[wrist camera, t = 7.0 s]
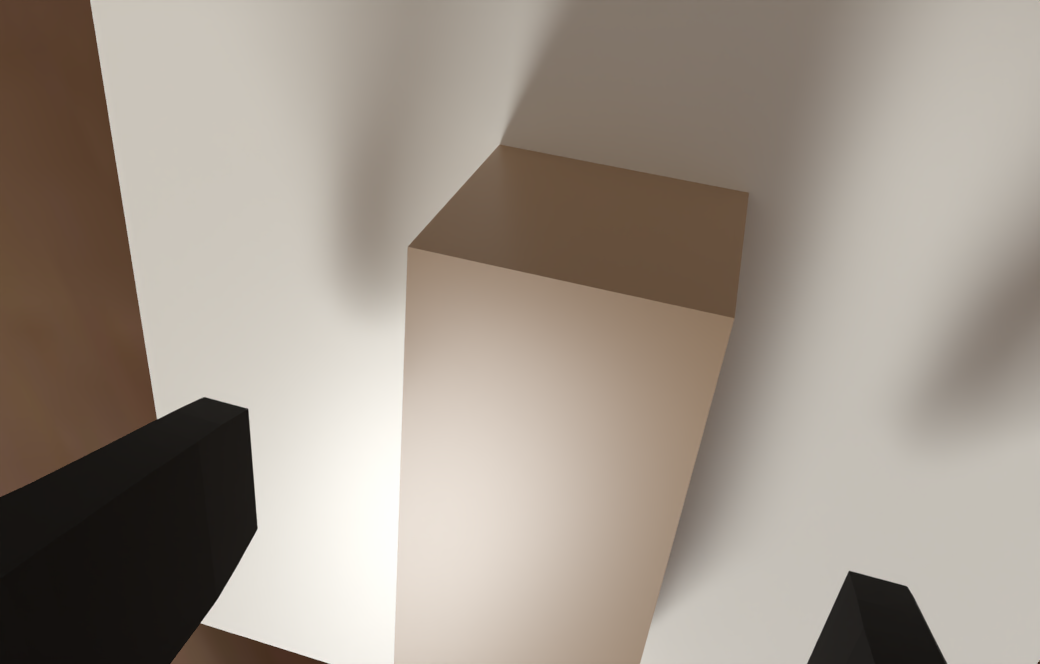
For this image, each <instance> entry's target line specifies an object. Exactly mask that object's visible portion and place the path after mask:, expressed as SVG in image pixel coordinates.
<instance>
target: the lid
mask: <svg viewBox="0 0 1040 664" xmlns="http://www.w3.org/2000/svg"><path fill="white" fill-rule="evenodd" d="M90 2H91V8H92V14H93V21H94V27H95V33H96V39H97V46H98V52H99V58H100V64H101V71H102V77H103V83H104V89H105V96H106V102H107V108H108V114H109V121H110V127H111V133H112V139H113V146H114V152H115V158H116V164H117V171H118V177H119V183H120V190H121V196H122V202H123V208H124V215H125V221H126V227H127V233H128V240H129V246H130V252H131V258H132V265H133V271H134V277H135V283H136V290H137V296H138V302H139V308H140V315H141V321H142V327H143V333H144V340H145V346H146V352H147V358H148V365H149V371H150V377H151V383H152V390H153V396H154V402H155V408H156V415H157V419H159V418H161V417H163V416H165V415H167V414H169V413H171V412H173V411H175V410H177V409H179V408H181V407H183V406H185V405H187V404H190V403H192V402H194V401H196V400H198V399H201V398H203V397H206V398H210V399H214V400H218V401H221V402H225V403H229V404H232V405H236V406H240V407H244V408H247V409H248V411H249V424H250V436H251V449H252V462H253V475H254V488H255V500H256V513H257V526H258V529H257V531H256V533H255V535H254V537H253V538H252V540H251V542H250V544H249V546H248V548H247V549H246V551H245V553H244V555H243V557H242V558H241V560H240V562H239V564H238V566H237V567H236V569H235V571H234V573H233V574H232V576H231V578H230V579H229V581H228V583H227V584H226V586H225V588H224V589H223V591H222V593H221V594H220V596H219V598H218V600H217V601H216V602H215V604H214V605H213V607H212V608H211V609H210V611H209V612H208V613H207V615H206V616H205V618H204V619H203V620H202V622H201V623H202V624H205V625H208V626H211V627H215V628H218V629H221V630H224V631H227V632H231V633H234V634H237V635H240V636H243V637H247V638H250V639H253V640H256V641H259V642H263V643H266V644H269V645H272V646H275V647H279V648H282V649H285V650H288V651H291V652H295V653H298V654H301V655H304V656H307V657H311V658H314V659H317V660H320V661H323V662H327V663H330V664H807V663H808V660H809V658H810V656H811V654H812V652H813V649H814V647H815V645H816V643H817V640H818V638H819V636H820V634H821V632H822V629H823V627H824V625H825V623H826V620H827V618H828V616H829V614H830V612H831V609H832V607H833V605H834V603H835V600H836V598H837V596H838V594H839V592H840V589H841V587H842V585H843V583H844V580H845V578H846V576H847V574H848V572H849V571H852V572H856V573H860V574H864V575H867V576H871V577H875V578H878V579H882V580H886V581H890V582H893V583H897V584H901V585H904V586H907V587H908V588H909V590H910V592H911V593H912V595H913V596H914V598H915V600H916V602H917V604H918V606H919V608H920V610H921V612H922V614H923V616H924V618H925V620H926V622H927V624H928V626H929V628H930V630H931V632H932V634H933V636H934V638H935V640H936V642H937V644H938V646H939V648H940V650H941V652H942V654H943V656H944V658H945V660H946V662H947V664H1037V663H1038V662H1039V660H1040V0H90Z"/></svg>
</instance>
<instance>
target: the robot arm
mask: <svg viewBox="0 0 1040 664" xmlns="http://www.w3.org/2000/svg"><path fill="white" fill-rule="evenodd" d="M257 529H258V526H257V513H256V500H255V488H254V475H253V462H252V449H251V436H250V424H249V411H248V409H247V408H244V407H240V406H236V405H232V404H229V403H225V402H221V401H218V400H214V399H210V398H206V397H203V398H201V399H198V400H196V401H194V402H192V403H190V404H187V405H185V406H183V407H181V408H179V409H177V410H175V411H173V412H171V413H169V414H167V415H165V416H163V417H161V418H159V419H157V420H155V421H153V422H151V423H149V424H147V425H145V426H143V427H141V428H139V429H137V430H135V431H134V432H132V433H130V434H128V435H126V436H124V437H122V438H120V439H118V440H116V441H114V442H112V443H110V444H108V445H106V446H104V447H102V448H100V449H98V450H96V451H94V452H92V453H90V454H88V455H86V456H84V457H82V458H80V459H78V460H76V461H74V462H72V463H70V464H68V465H66V466H64V467H62V468H60V469H58V470H56V471H54V472H52V473H50V474H48V475H46V476H44V477H42V478H40V479H38V480H36V481H34V482H32V483H30V484H28V485H26V486H24V487H22V488H19V489H17V490H15V491H13V492H11V493H9V494H6V495H4V496H2V497H0V664H170V663H171V662H172V660H173V659H174V658H175V657H176V655H177V654H178V653H179V651H180V650H181V648H182V647H183V646H184V644H185V643H186V642H187V640H188V639H189V638H190V636H191V635H192V634H193V632H194V631H195V630H196V628H197V627H198V626H199V624H200V623H201V622H202V620H203V619H204V618H205V616H206V615H207V613H208V612H209V611H210V609H211V608H212V607H213V605H214V604H215V602H216V601H217V600H218V598H219V596H220V594H221V593H222V591H223V589H224V588H225V586H226V584H227V583H228V581H229V579H230V578H231V576H232V574H233V573H234V571H235V569H236V567H237V566H238V564H239V562H240V560H241V558H242V557H243V555H244V553H245V551H246V549H247V548H248V546H249V544H250V542H251V540H252V538H253V537H254V535H255V533H256V531H257ZM807 664H947V662H946V660H945V658H944V656H943V654H942V652H941V650H940V648H939V646H938V644H937V642H936V640H935V638H934V636H933V634H932V632H931V630H930V628H929V626H928V624H927V622H926V620H925V618H924V616H923V614H922V612H921V610H920V608H919V606H918V604H917V602H916V600H915V598H914V596H913V595H912V593H911V592H910V590H909V588H908V587H907V586H904V585H901V584H897V583H893V582H890V581H886V580H882V579H878V578H875V577H871V576H867V575H864V574H860V573H856V572H852V571H849V572H848V574H847V576H846V578H845V580H844V583H843V585H842V587H841V589H840V592H839V594H838V596H837V598H836V600H835V603H834V605H833V607H832V609H831V612H830V614H829V616H828V618H827V620H826V623H825V625H824V627H823V629H822V632H821V634H820V636H819V638H818V640H817V643H816V645H815V647H814V649H813V652H812V654H811V656H810V658H809V660H808V663H807Z"/></svg>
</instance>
